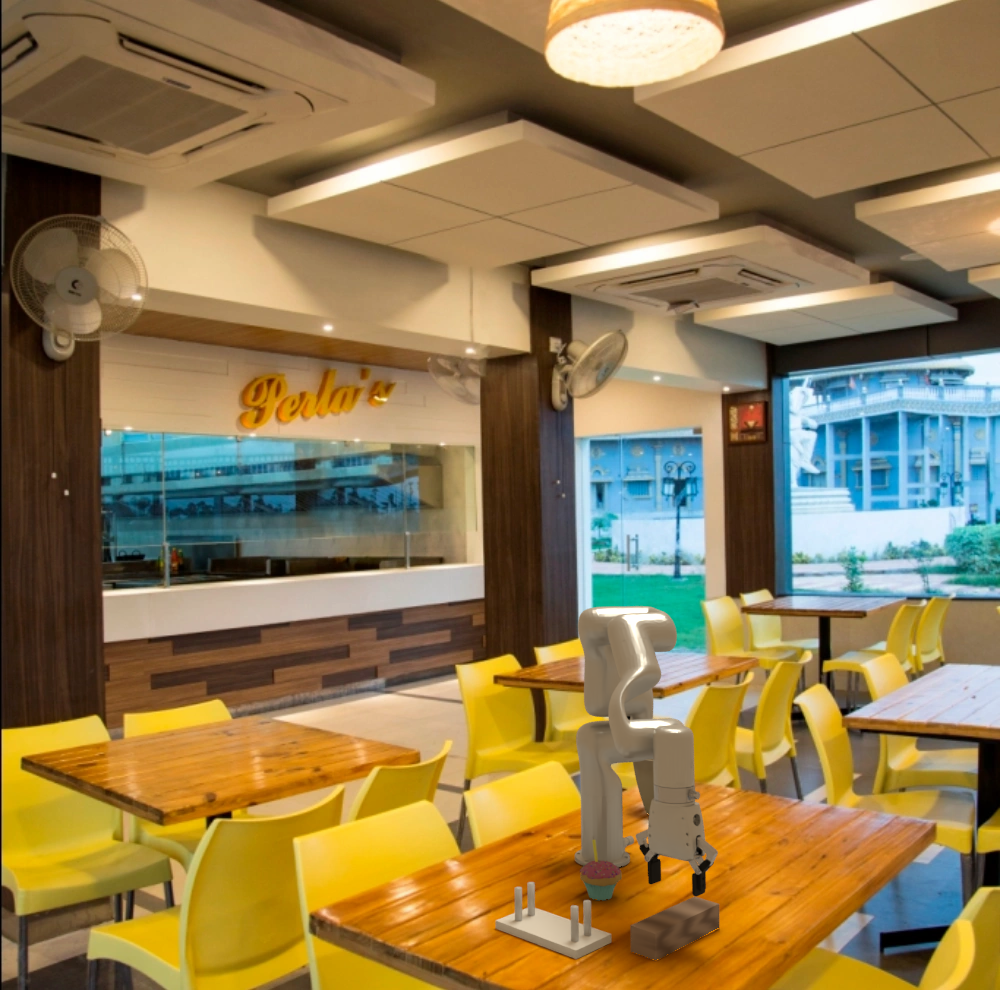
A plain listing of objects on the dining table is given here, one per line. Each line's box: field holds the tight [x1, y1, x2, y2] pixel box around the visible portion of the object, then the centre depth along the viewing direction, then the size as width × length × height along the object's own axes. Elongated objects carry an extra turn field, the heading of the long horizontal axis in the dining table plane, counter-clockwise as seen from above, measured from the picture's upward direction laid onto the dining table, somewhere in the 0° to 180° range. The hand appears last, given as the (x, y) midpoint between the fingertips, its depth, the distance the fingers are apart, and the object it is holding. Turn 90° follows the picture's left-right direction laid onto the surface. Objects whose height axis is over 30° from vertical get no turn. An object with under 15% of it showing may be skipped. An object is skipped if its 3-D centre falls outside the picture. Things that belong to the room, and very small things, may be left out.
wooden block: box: [630, 896, 720, 961], centre depth 184 cm, size 20×6×5 cm, turn 134°
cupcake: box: [579, 836, 623, 901], centre depth 206 cm, size 9×8×12 cm
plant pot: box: [632, 759, 654, 814], centre depth 266 cm, size 15×15×16 cm
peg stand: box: [495, 881, 612, 960], centre depth 186 cm, size 20×10×8 cm, turn 46°
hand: (676, 888), depth 183 cm, fingers open, 9 cm apart
